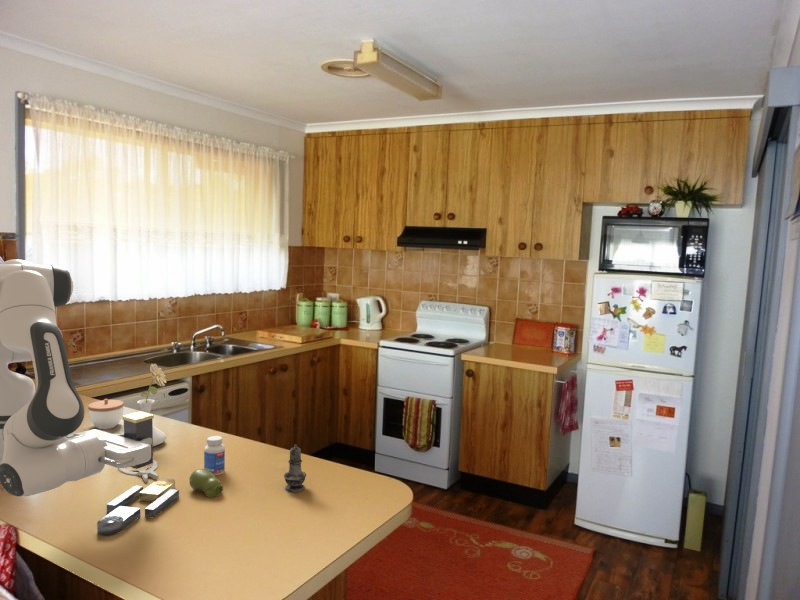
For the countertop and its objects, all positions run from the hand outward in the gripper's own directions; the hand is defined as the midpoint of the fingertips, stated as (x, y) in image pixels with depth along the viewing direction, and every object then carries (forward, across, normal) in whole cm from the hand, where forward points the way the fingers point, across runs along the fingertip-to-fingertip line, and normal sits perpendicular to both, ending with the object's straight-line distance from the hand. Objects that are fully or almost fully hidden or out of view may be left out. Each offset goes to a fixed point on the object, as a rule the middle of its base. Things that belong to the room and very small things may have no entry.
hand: (141, 438), depth 139 cm
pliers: (+14, +18, +18) cm, 28 cm away
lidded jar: (+32, +61, +17) cm, 71 cm away
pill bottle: (+24, +2, +17) cm, 30 cm away
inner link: (+7, +3, +17) cm, 19 cm away
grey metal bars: (-4, -1, +17) cm, 17 cm away
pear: (+14, -6, +17) cm, 23 cm away
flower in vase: (+29, +35, +17) cm, 49 cm away
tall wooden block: (-1, 0, +6) cm, 6 cm away
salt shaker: (+28, -24, +17) cm, 40 cm away
